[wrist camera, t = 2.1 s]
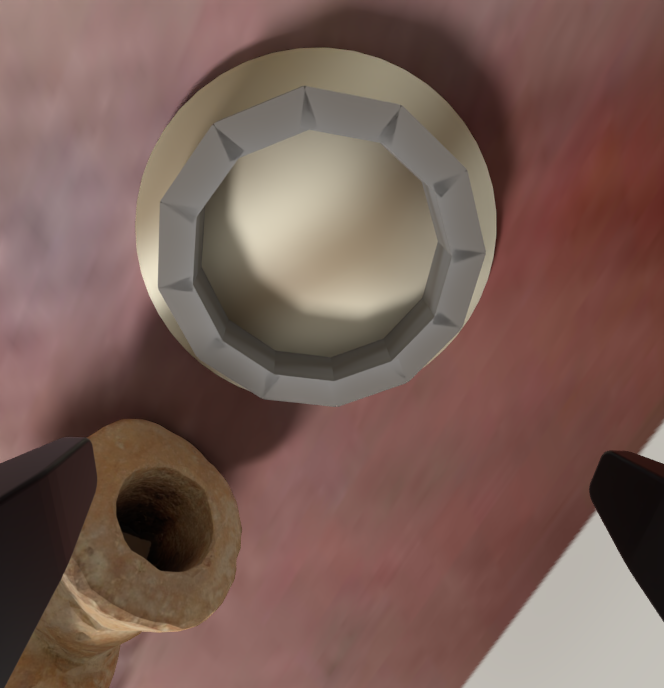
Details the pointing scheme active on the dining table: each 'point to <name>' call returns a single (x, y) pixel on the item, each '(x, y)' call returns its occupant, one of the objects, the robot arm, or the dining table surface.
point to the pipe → (136, 557)
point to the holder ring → (315, 225)
